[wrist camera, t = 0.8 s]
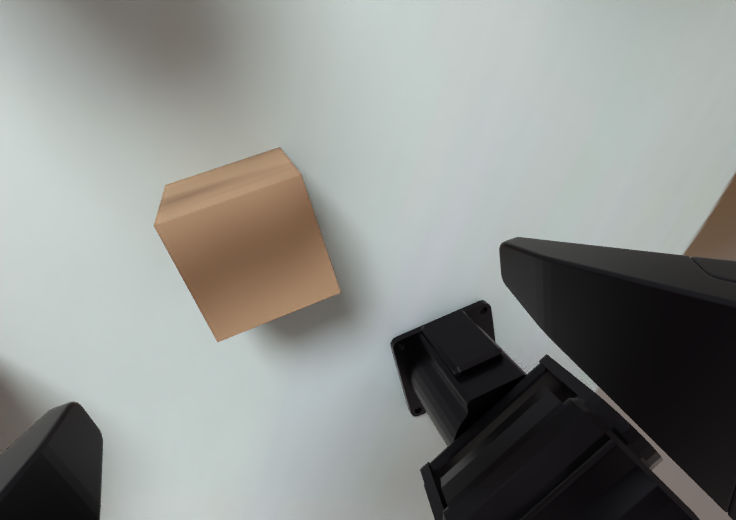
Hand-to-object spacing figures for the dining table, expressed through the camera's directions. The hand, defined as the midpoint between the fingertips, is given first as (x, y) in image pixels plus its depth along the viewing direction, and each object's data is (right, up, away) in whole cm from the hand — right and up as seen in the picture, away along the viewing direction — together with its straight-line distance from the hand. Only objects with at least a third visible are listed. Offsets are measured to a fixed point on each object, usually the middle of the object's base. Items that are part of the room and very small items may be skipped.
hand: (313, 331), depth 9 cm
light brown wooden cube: (-4, +3, +11) cm, 12 cm away
